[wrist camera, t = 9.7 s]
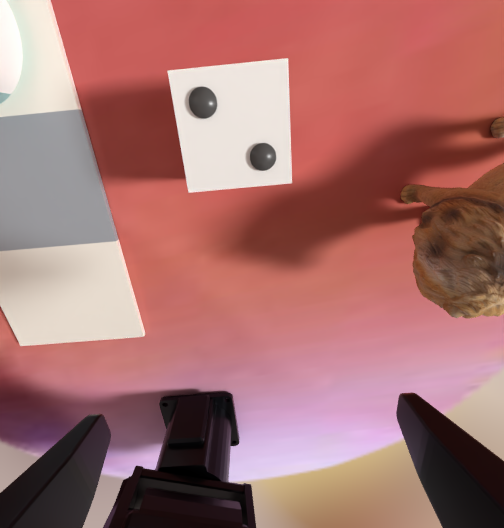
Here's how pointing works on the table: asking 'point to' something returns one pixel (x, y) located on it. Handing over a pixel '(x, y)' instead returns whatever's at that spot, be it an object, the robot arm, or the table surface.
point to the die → (233, 124)
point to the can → (9, 51)
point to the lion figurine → (462, 243)
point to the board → (55, 205)
